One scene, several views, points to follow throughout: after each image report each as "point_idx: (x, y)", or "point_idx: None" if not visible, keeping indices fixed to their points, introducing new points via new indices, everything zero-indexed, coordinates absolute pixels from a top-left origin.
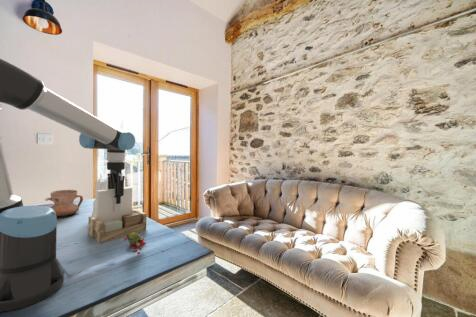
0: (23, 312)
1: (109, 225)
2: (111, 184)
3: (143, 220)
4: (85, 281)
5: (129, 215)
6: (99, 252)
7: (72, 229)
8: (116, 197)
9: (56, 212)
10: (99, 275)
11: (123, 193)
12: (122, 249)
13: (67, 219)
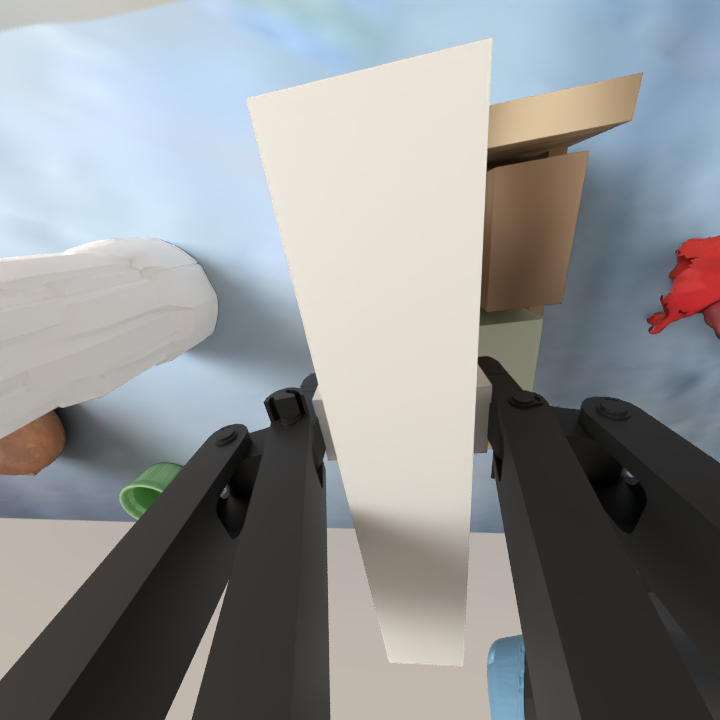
0: None
1: (529, 386)
2: (326, 692)
3: (584, 139)
4: (700, 448)
5: (536, 261)
6: (553, 390)
7: (245, 413)
8: (489, 434)
9: (52, 453)
10: (713, 421)
11: (665, 427)
12: (614, 323)
13: (101, 408)
